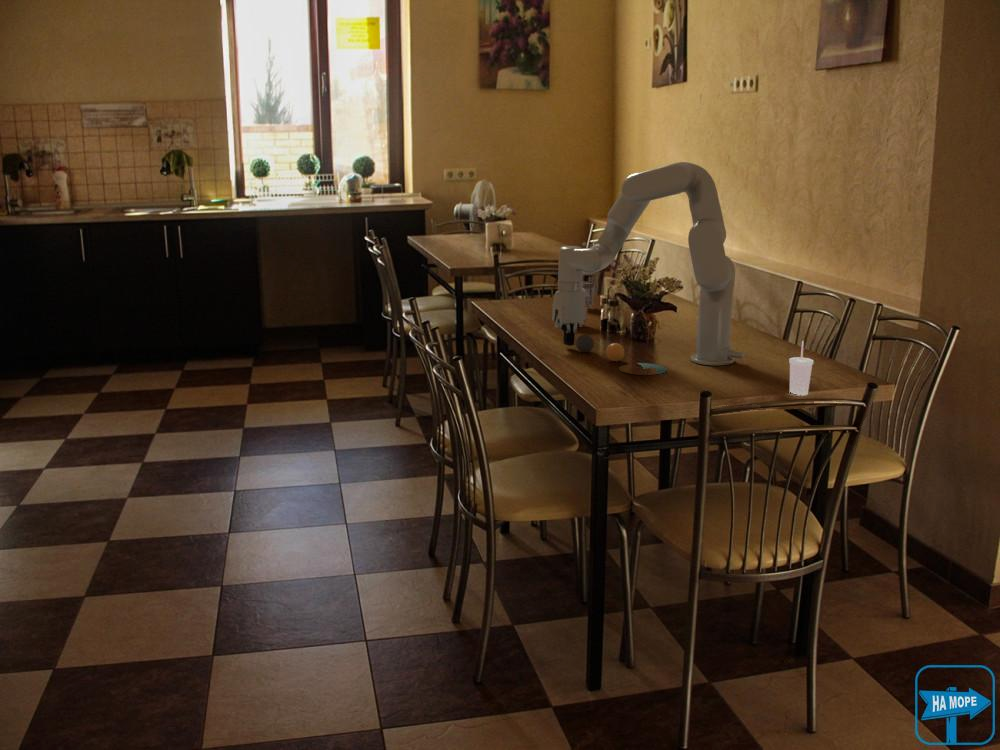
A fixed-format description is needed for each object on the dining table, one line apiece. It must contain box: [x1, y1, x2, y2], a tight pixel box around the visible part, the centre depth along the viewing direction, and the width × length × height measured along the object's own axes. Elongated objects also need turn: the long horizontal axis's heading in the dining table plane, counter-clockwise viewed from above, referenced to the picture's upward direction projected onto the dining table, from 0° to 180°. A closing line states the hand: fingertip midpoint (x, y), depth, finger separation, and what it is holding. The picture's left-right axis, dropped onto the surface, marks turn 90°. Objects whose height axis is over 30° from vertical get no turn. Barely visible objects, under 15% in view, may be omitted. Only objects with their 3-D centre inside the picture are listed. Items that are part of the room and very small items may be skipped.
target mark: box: [636, 362, 668, 375], centre depth 279 cm, size 14×14×1 cm
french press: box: [581, 242, 599, 308], centre depth 367 cm, size 10×12×25 cm
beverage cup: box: [788, 340, 814, 397], centre depth 254 cm, size 6×6×14 cm
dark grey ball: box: [575, 334, 595, 354], centre depth 299 cm, size 6×6×6 cm
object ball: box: [605, 342, 625, 362], centre depth 288 cm, size 6×6×6 cm
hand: (568, 344), depth 305 cm, fingers closed
